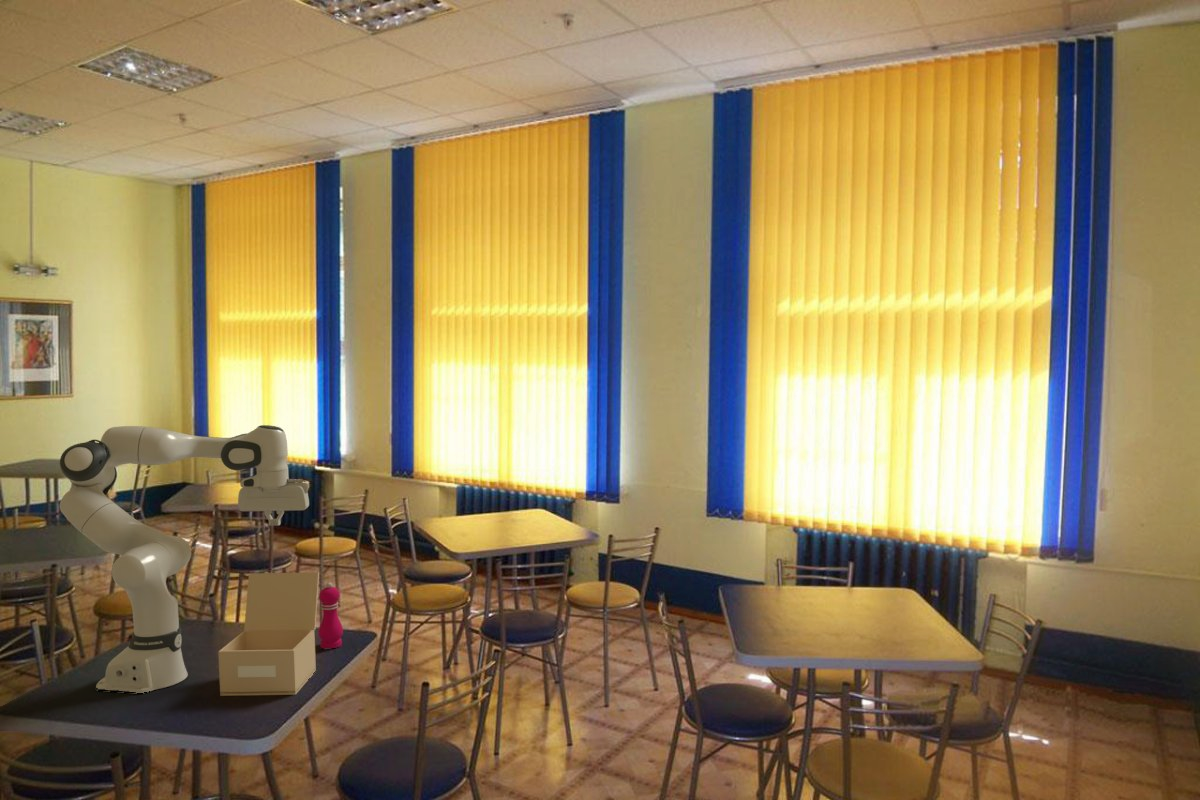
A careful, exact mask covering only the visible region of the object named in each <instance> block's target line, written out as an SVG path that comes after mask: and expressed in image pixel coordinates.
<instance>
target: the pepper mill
mask: <svg viewBox="0 0 1200 800" xmlns="http://www.w3.org/2000/svg"><path fill="white" fill-rule="evenodd" d="M340 594H341V593H340V591H339V589H338V588H336V587H335V586H333V584H332V582H330V581H329V582H327V583H326V584H325V587H324V588H323V589H321V590H320V593H319V595H318V599H319V602H321V603H320V604H321V607H320V608H321V609H322V612H323V613H322V619H321V622H320V625H319V628H318V638H320V640H321V641H320V648H321V647H322V648H336V647H339V646H340V647H342V645H343V644H342V643H343V641H342V640H343V639H342V638H341V637H342V636H343V634H344V629H343V625H342V622H341V621H340V618H339V615H338V607H339V602H338V600H339V599H340V596H341V595H340ZM340 647H339V648H340ZM322 648H321V649H322ZM336 649H337V648H336Z"/></svg>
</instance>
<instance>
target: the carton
mask: <svg viewBox="0 0 1200 800" xmlns="http://www.w3.org/2000/svg"><path fill="white" fill-rule="evenodd" d="M315 637H316V636H315V630H275V631H244V630H243V631H242V632H240V634H238V635H237V636H235V637H234V638H233V639H232V640H231V641H230V642H228V643H227V644H226V645H225V646H223V647H222V648H221V649H219V651H218V654H217V655H218V673H219V693H220V695H219V696H221V697H224V696H225V697H226V696H227V697H228V696H280V695H281V696H283V695H284V696H287V695H289V696H291V695H292V696H295V695H297V693H299V691H300V690H301V689H302V688H303V686H304V685H306V684H307V682H308V681H309V680H310V679H311V678H312V676H313V675H314V674H315V673H316V672H317V665H316V663H317V662H316V640H315ZM315 671H316V672H315ZM314 672H315V673H314ZM313 673H314V674H313ZM309 678H310V679H309ZM308 679H309V680H308Z"/></svg>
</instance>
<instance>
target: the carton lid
mask: <svg viewBox="0 0 1200 800" xmlns="http://www.w3.org/2000/svg"><path fill="white" fill-rule="evenodd" d="M247 580H248V581H247V590H246V591H247V592H246V605H245V615H244V616H245V617H244V628H243V631H275V630H314V631H316V628H317V625H316V624H317V611H318V599H319V595H318V594H319V580H320V572H265V573H264V572H263V573H260V572H259V573H255V572H254V573H248V579H247Z"/></svg>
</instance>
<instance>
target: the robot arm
mask: <svg viewBox="0 0 1200 800" xmlns="http://www.w3.org/2000/svg"><path fill="white" fill-rule="evenodd" d="M288 451H289V450H288V440H287V435H286V432H285V430H284V429H282V427H280V426H277V425H269V424H267V425H266V424H262V425H258V426H257V427H256V428H254V429H253V430H251V431H250V432H248V433H242V434H239V435H235V436H232V437H218V436H217V437H215V436H203V435H202V436H201V435H194V434H193V435H192V434H187V433H183V432H178V431H173V430H170V429H165V428H161V427H153V426H144V425H143V426H142V425H125V426H121V425H120V426H113V427H109V428H108V429H106V430H105V431H104V433H103V434H102V436H101V438H100V440H99V439H90V440H89V441H86V442H81V443H80V442H79V443H76V444H73V445H70V446H69V447H68V448H66V449H65V450H64V451H63V453H62V454H61V456H60V459H59V466H60V467H59V468H60V470H61V472H62V474H63V475H64V476H65V477H66V478H67V479H68V481H70V488H69V490H68V491H67V492H66V493H65V494H64V495H62V498H61V499H60V502H59V511H60V512H61V513H62V515H63V516H64V517H65V518H66V519H67V521H68V522H69V523H70V524H71V525H72V526H73V527H74V528H75V529H76V530H77V531H78V532H80V533H81V534H82V535H83V536H85V537H86V538H87V539H88V540H90V541H91V542H93V544H95V546H97V547H98V548H99V549H101V550H102V551H104V552H105V553H110V554H115V555H118V556H119V557H118V558H116V559H115V561H114V563H113V565H112V567H111V576H112V579H113V581H114V583H115V584H116V585H117V586H118V587H119V588H121V589H123V590H124V591H125V592H126V594H127V597H128V599H129V602H130V605H131V609H132V621H133V632H132V633H130V634H129V635H128V636H126V637H125V638H124V644H125V643H127V642H128V645H127V647H125V648H124V649H123V650H122V651H120V652H119V653H118V654H117V655H116V656H114V658H112V659H111V660H110V661H109V662H108V664H107V665H106V669H105V676H104V677H103V678H101V679H100V680H99V681H98V682H97V683H96V686H95V689H96V688H98V689H105V690H119V691H129V692H136V693H135V694H137V693H143V694H145V693H144V692H147V693H149V691H150V692H152V691H154V690H156V691H157V690H159V689H164V688H167V687H172V686H174V685H176V684H179V683H180V682H182V681H184V680H186V678H187V677H188V676H189V674H188V670H187V668H186V665H185V661H184V658H183V653H182V640H183V639H182V627H181V626H180V623H179V617H180V616H179V602H178V600H177V597H175V596H174V595H172V594H171V593H170V591H169V589H168V586H167V582H166V581H167V578H168V577H171V576H173V575H175V574H177V573H179V572H180V571H181V570H182V569H183V568H184V567H186V565H188V564H189V562H190V560H191V557H192V548H191V546H190V544H189V542H188V541H187V540H186V539H184V538H183V537H180V536H177V535H172V534H171V535H170V534H167V533H165V532H162V531H160V530H158V529H155V528H153V527H151V526H149V525H147V524H145V523H143V522H141V521H140V520H137V519H135V517H133V516H132V515H131V514H130V513H128V512H127V511H126V510H124V509H123V508H121V506H119V505H118V504H117V503H115V502H114V501H113V500H111V498H109V497H108V496H107V495H108V493H109V491H110V490H111V489H112V488H113V486H114V485H115V483H116V481H117V478H118V472H117V469H116V468H117V467H118V466H121V465H126V464H127V465H128V464H133V465H141V466H142V465H143V466H157V465H158V466H161V465H168V464H172V463H176V462H179V461H182V460H185V459H190V458H208V459H209V458H210V459H221V462H222V464H223V465H224V466H225V468H228V469H230V470H232V471H237V472H239V471H241V472H242V471H244V470H245V471H246V470H248V469H251V468H256V474H254V475H251V476H249V477H246V478H244V479H241V480H240V483H239V484H240V485H239V486H240V487H241V488H240V489H239V491H238V496H237V497H238V498H237V507H238V509H239V510H240V512H263V513H264V516H265V517H266V519H267V520H268V526H271V527H272V526H280V525H281V522H282V517H283V515H284V514H285V511H305V510H306V509H308V507H309V506H310V498H309V493H308V491H309V484H308V482H307V481H306V480H304V479H303V478H298V479H295V478H289V465H288V463H287V459H288V454H289V453H288ZM272 511H273V512H274V511H275V512H276V514H277V517H276V518H273V516H272V515H271V514H273V512H272Z"/></svg>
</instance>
